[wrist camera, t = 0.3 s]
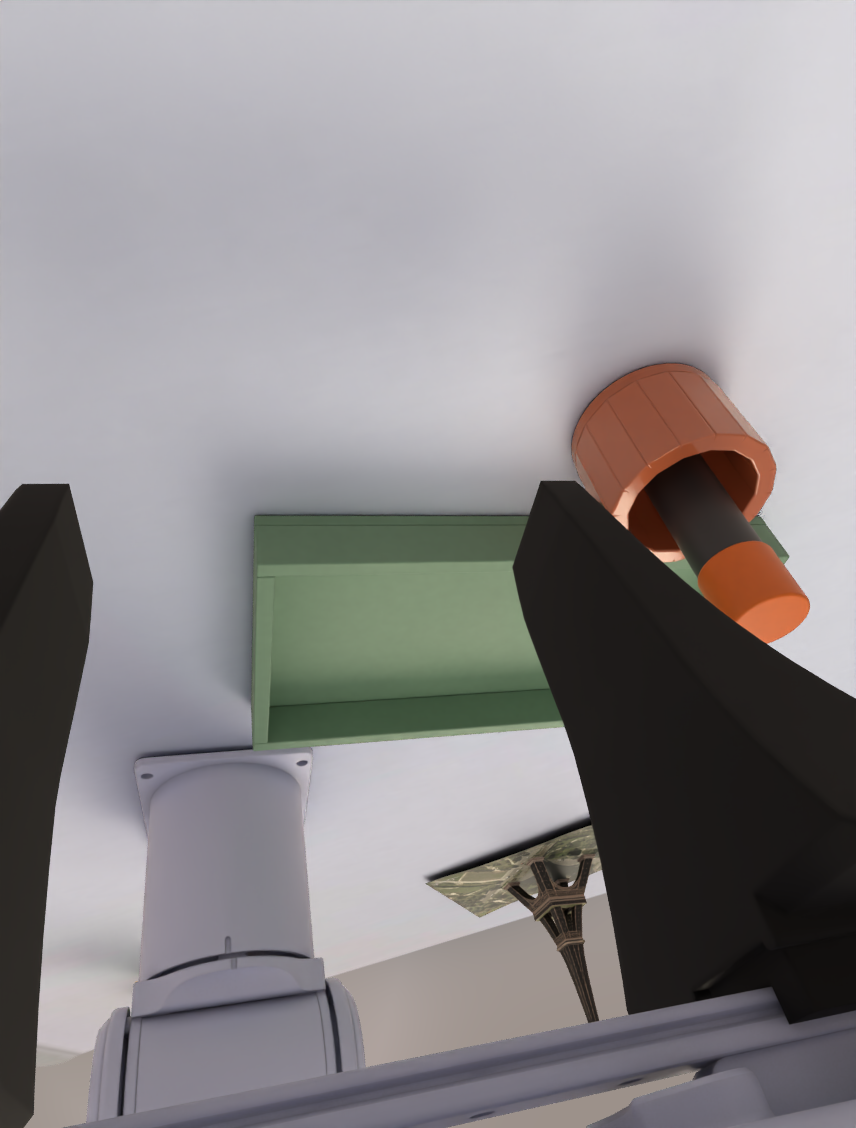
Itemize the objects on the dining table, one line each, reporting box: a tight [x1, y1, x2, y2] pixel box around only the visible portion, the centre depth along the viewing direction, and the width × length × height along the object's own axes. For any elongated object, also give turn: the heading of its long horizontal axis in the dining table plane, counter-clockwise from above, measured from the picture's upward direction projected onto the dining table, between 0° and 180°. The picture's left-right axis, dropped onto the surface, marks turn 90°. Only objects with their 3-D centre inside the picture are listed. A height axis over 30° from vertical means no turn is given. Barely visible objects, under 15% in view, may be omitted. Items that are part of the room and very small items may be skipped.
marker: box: [644, 454, 810, 644], centre depth 22 cm, size 2×2×8 cm
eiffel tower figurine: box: [425, 825, 602, 1023], centre depth 49 cm, size 15×10×13 cm
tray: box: [251, 516, 789, 751], centre depth 30 cm, size 11×20×2 cm, turn 80°
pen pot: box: [572, 363, 776, 563], centre depth 24 cm, size 5×5×4 cm
